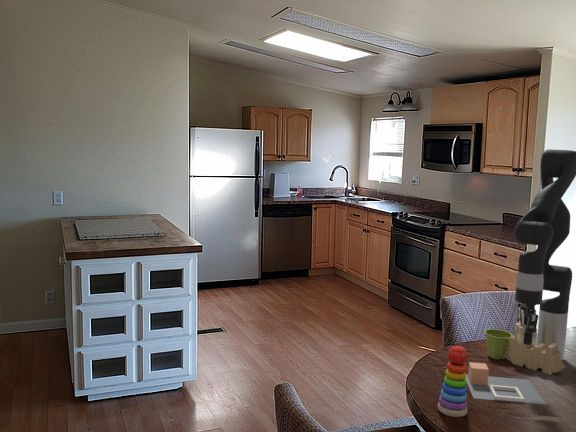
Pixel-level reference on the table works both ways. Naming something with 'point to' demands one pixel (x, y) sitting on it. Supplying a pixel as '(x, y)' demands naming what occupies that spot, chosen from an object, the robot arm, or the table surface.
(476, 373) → the terracotta block
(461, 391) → the stacking toy
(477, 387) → the board
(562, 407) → the table surface
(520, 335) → the maple block
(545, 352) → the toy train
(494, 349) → the plant pot
